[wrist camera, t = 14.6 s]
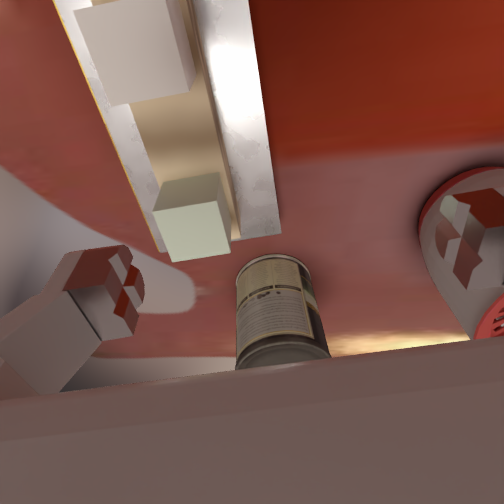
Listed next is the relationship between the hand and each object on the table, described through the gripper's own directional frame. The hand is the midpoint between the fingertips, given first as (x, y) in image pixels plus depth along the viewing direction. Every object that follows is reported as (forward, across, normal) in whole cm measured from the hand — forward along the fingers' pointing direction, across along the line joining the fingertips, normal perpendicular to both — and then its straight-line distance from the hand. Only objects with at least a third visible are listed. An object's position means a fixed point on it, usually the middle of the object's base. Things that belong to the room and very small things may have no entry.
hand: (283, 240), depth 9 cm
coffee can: (+28, +1, +27) cm, 39 cm away
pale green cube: (+20, +6, +10) cm, 23 cm away
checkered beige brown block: (+25, +6, +3) cm, 26 cm away
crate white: (+21, +6, -3) cm, 22 cm away
